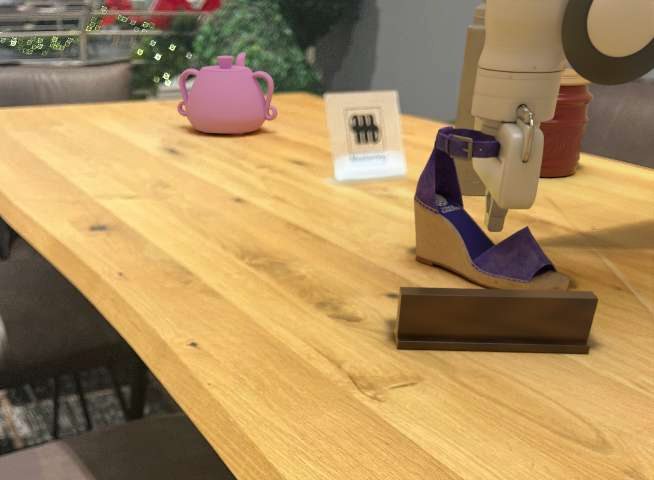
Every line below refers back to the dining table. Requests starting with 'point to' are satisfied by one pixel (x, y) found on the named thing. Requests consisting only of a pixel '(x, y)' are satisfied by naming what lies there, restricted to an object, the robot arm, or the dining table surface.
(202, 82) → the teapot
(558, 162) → the kitchen canister
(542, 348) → the shoe rail
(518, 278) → the sandal
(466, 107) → the thermos bottle
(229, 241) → the dining table surface
